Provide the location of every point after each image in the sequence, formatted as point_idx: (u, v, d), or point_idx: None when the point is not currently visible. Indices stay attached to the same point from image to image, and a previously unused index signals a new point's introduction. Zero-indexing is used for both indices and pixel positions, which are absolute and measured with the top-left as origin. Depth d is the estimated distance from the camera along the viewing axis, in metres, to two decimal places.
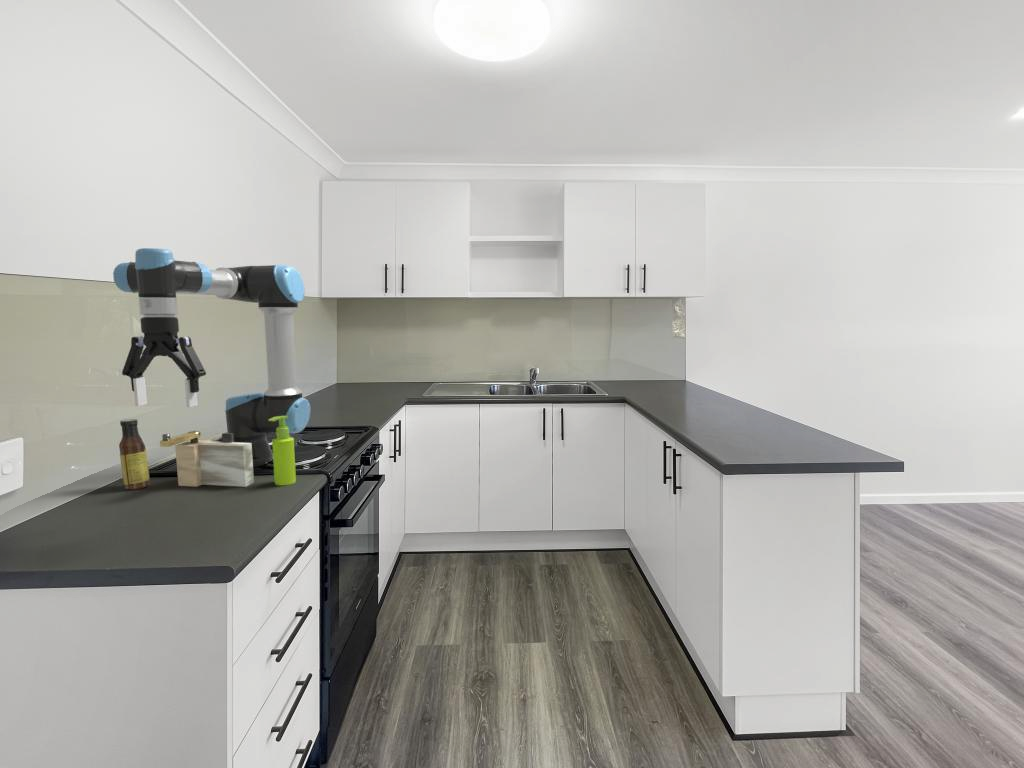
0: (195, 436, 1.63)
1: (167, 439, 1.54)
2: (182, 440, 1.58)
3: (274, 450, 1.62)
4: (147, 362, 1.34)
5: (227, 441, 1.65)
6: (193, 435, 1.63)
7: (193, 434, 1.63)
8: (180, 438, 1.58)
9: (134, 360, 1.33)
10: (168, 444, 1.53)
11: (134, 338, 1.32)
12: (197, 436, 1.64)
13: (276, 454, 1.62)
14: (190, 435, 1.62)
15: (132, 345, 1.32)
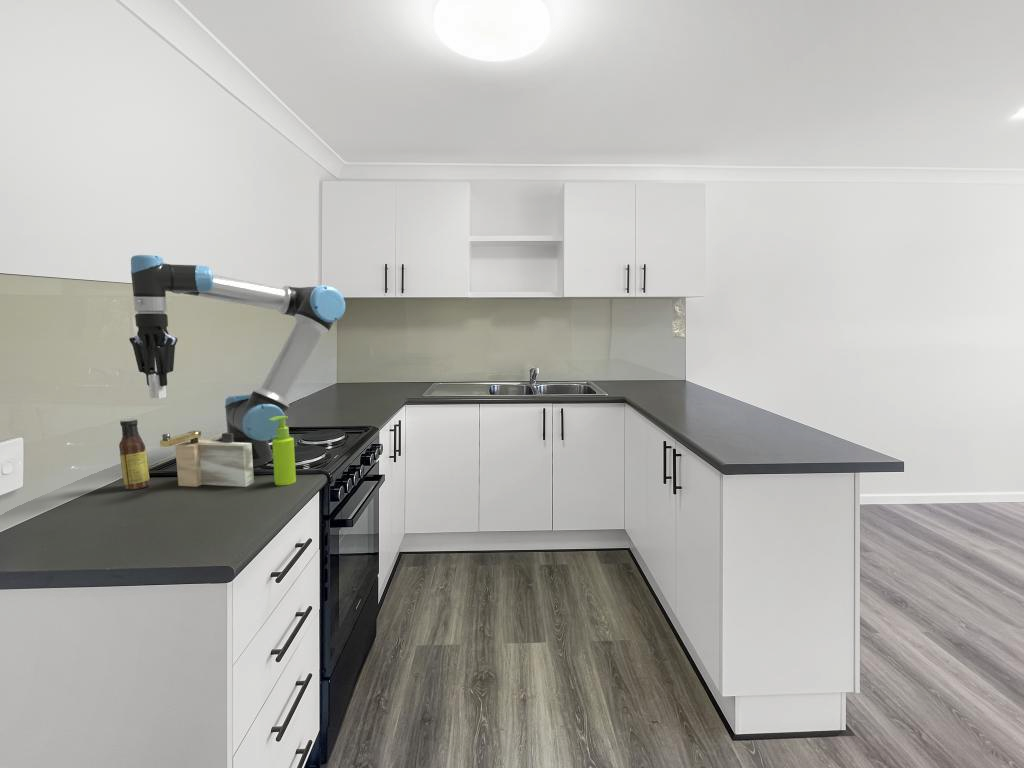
0: (195, 436, 1.63)
1: (167, 439, 1.54)
2: (182, 440, 1.58)
3: (274, 450, 1.62)
4: (152, 356, 1.56)
5: (227, 441, 1.65)
6: (193, 435, 1.63)
7: (193, 434, 1.63)
8: (180, 438, 1.58)
9: (142, 356, 1.56)
10: (168, 444, 1.53)
11: (131, 338, 1.54)
12: (197, 436, 1.64)
13: (276, 454, 1.62)
14: (190, 435, 1.62)
15: (133, 344, 1.55)
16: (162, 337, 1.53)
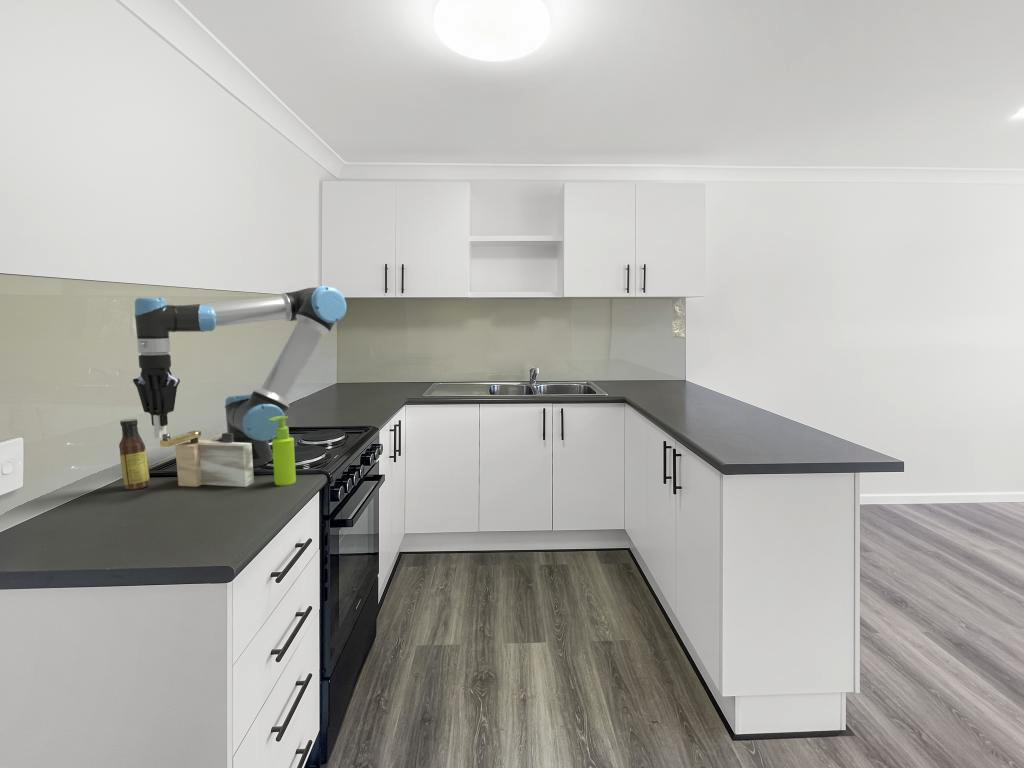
0: (195, 436, 1.63)
1: (167, 439, 1.54)
2: (182, 440, 1.58)
3: (274, 450, 1.62)
4: (156, 396, 1.57)
5: (227, 441, 1.65)
6: (193, 435, 1.63)
7: (193, 434, 1.63)
8: (180, 438, 1.58)
9: (146, 396, 1.57)
10: (168, 444, 1.53)
11: (134, 379, 1.56)
12: (197, 436, 1.64)
13: (276, 454, 1.62)
14: (190, 435, 1.62)
15: (137, 385, 1.56)
16: (165, 378, 1.55)
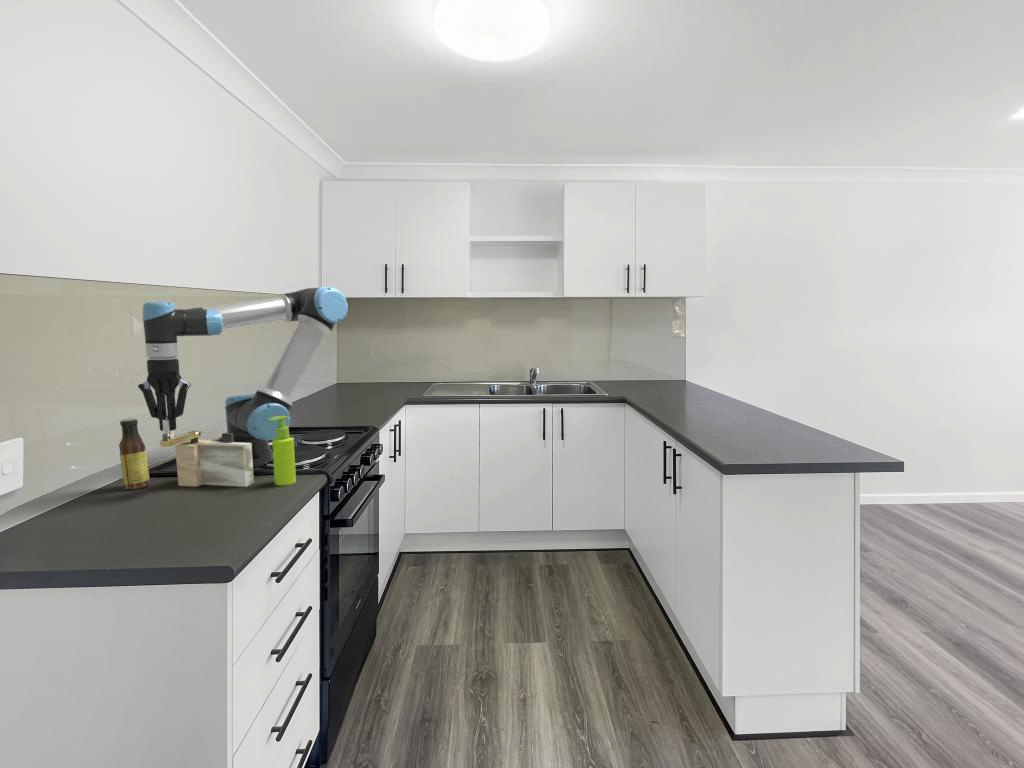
0: (195, 436, 1.63)
1: (167, 439, 1.54)
2: (182, 440, 1.58)
3: (274, 450, 1.62)
4: (163, 400, 1.57)
5: (227, 441, 1.65)
6: (193, 435, 1.63)
7: (193, 434, 1.63)
8: (180, 438, 1.58)
9: (152, 402, 1.56)
10: (168, 444, 1.53)
11: (140, 385, 1.54)
12: (197, 436, 1.64)
13: (276, 454, 1.62)
14: (190, 435, 1.62)
15: (143, 391, 1.54)
16: (176, 382, 1.55)
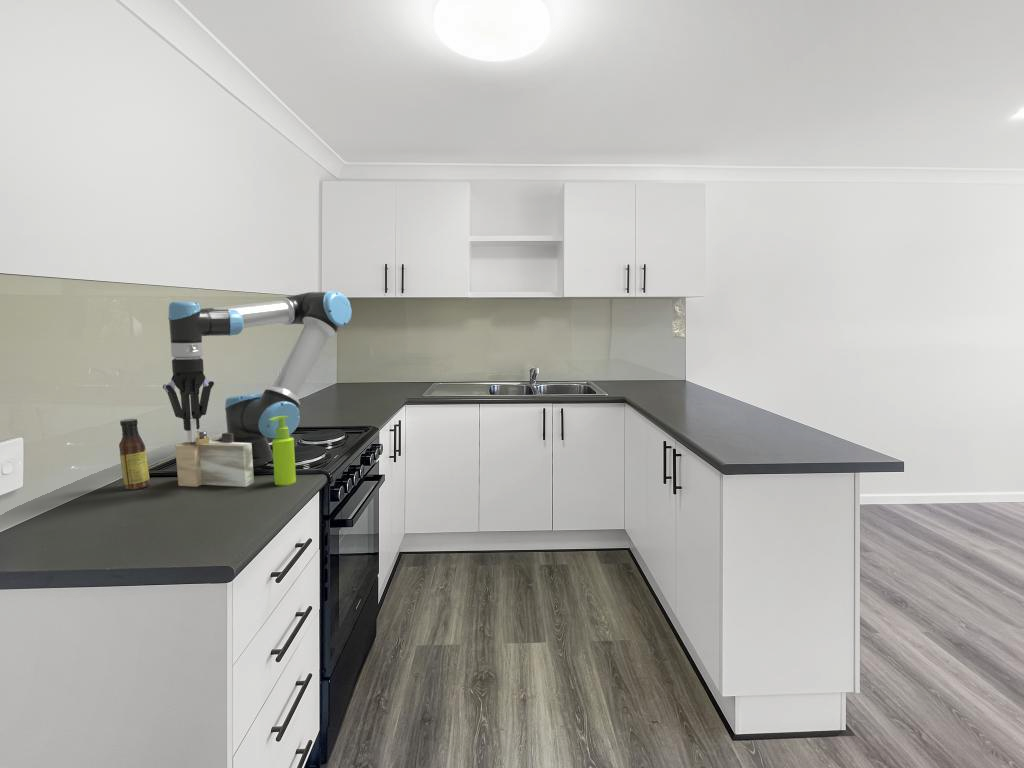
0: None
1: (206, 436, 1.57)
2: None
3: (274, 450, 1.62)
4: None
5: (227, 441, 1.65)
6: None
7: None
8: None
9: None
10: (208, 441, 1.57)
11: (169, 386, 1.51)
12: None
13: (276, 454, 1.62)
14: None
15: (171, 392, 1.52)
16: (203, 381, 1.58)
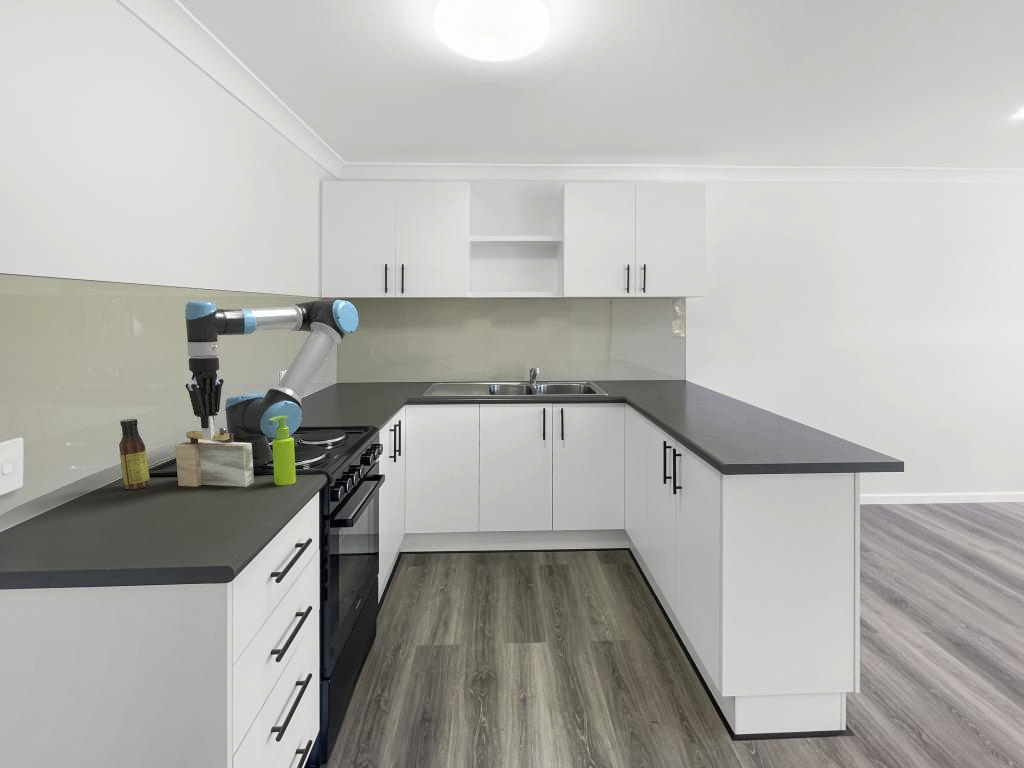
0: None
1: None
2: None
3: (274, 450, 1.62)
4: None
5: (227, 441, 1.65)
6: None
7: None
8: None
9: None
10: None
11: (194, 384, 1.53)
12: None
13: (276, 454, 1.62)
14: None
15: (196, 390, 1.54)
16: (216, 379, 1.62)
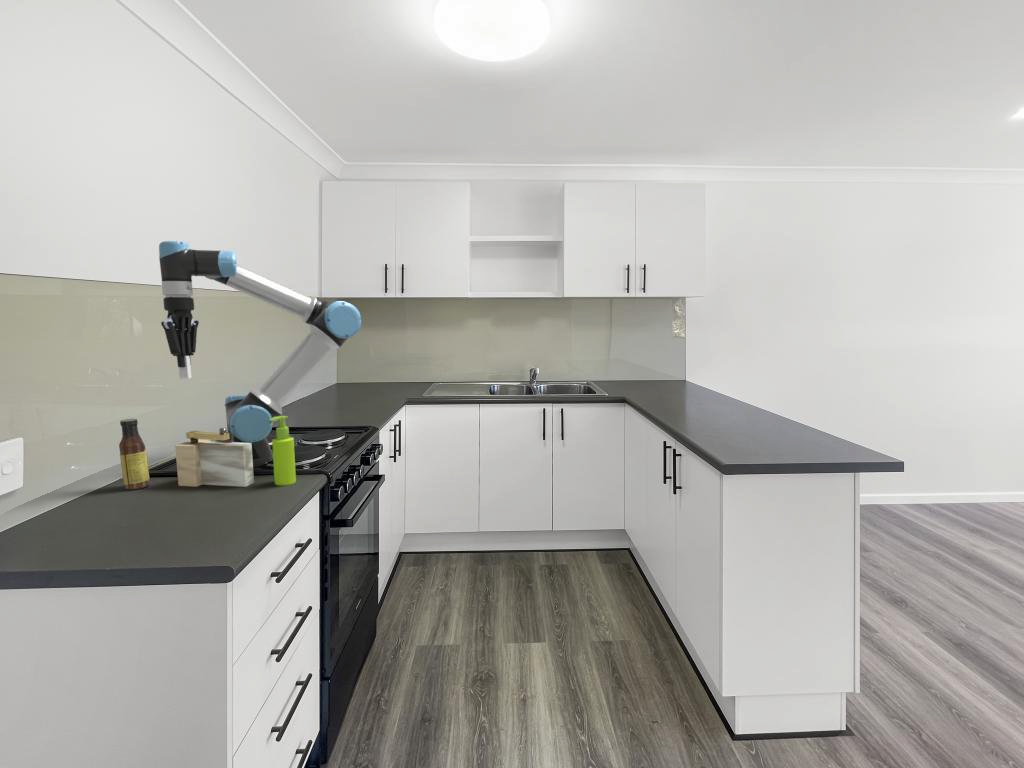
0: None
1: None
2: None
3: (274, 450, 1.62)
4: None
5: (227, 441, 1.65)
6: None
7: None
8: None
9: None
10: None
11: (170, 322, 1.56)
12: None
13: (276, 454, 1.62)
14: None
15: (172, 328, 1.57)
16: (191, 320, 1.65)
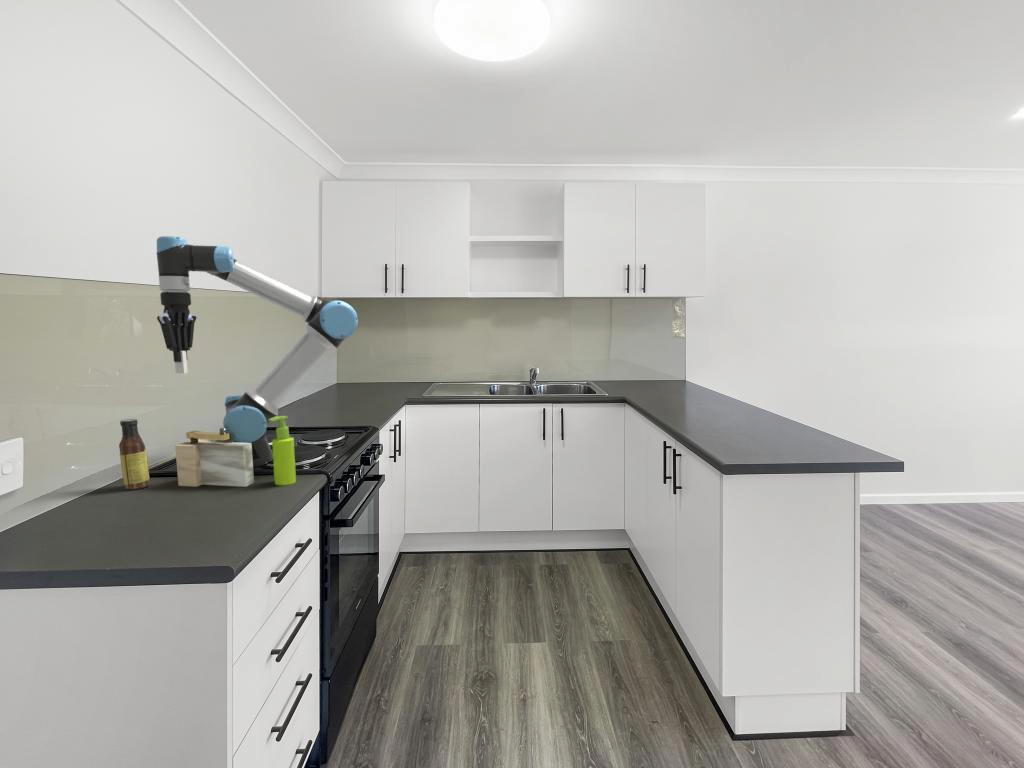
0: None
1: None
2: None
3: (274, 450, 1.62)
4: None
5: (227, 441, 1.65)
6: None
7: None
8: None
9: None
10: None
11: (166, 317, 1.57)
12: None
13: (276, 454, 1.62)
14: None
15: (168, 323, 1.58)
16: (188, 315, 1.66)
